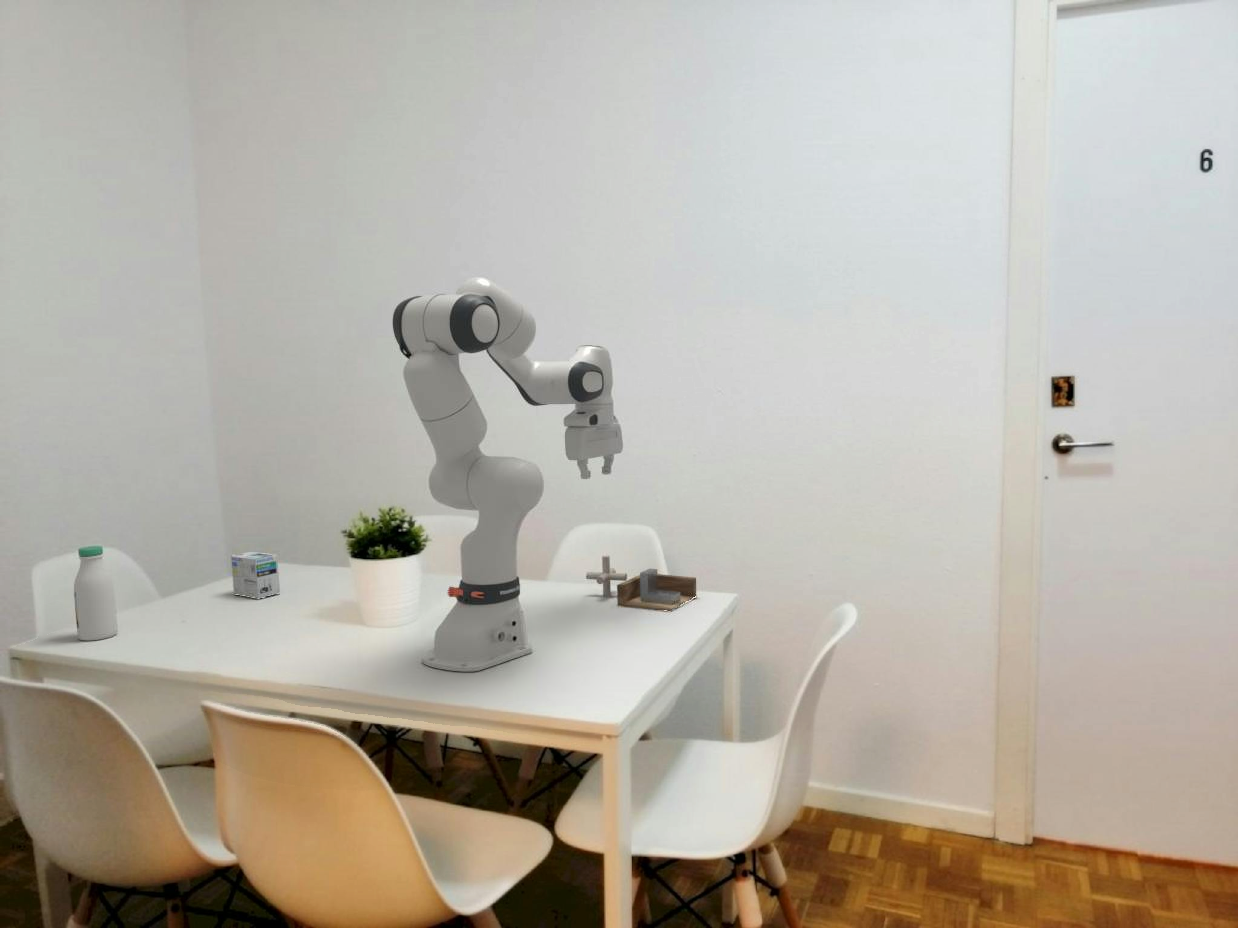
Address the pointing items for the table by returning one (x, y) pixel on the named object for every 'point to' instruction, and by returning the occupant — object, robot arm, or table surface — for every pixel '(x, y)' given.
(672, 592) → the bracket
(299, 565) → the table surface
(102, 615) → the milk bottle
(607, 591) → the pipe connector
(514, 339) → the robot arm
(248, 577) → the light bulb box
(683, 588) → the wooden corner tray
